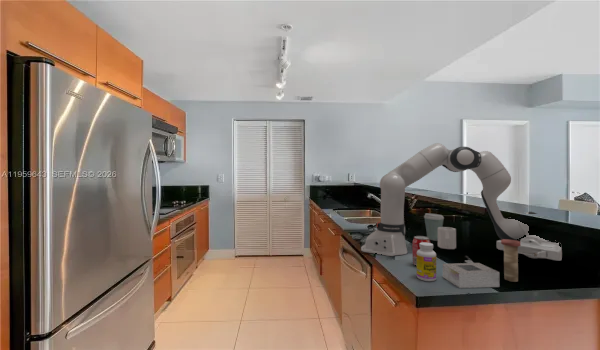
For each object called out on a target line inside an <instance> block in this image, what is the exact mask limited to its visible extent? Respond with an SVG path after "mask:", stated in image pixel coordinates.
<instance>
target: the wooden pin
mask: <svg viewBox="0 0 600 350" xmlns="http://www.w3.org/2000/svg"><path fill="white" fill-rule="evenodd" d="M500 240H501V244H503V245H504V250H503V274H504V275H503V276H504V277H503V279H504V280H505V281H509V282H514V283H516V282H519V263H518V262H519V259H518V258H519V253H518V246H521V242H520V240H510V239H500Z"/></svg>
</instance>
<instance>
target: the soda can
mask: <svg viewBox="0 0 600 350" xmlns="http://www.w3.org/2000/svg"><path fill="white" fill-rule="evenodd" d="M422 242H426V243H431V240H429V238H428V237H427V236H424V235H416V236H415V235H414V236H413V240H412V247H411V248H412V263H413V265H414V266H415V265H416V266H415V267H417V251H418V250H419V249H420V247H419V243H422Z"/></svg>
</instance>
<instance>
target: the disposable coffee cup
mask: <svg viewBox="0 0 600 350" xmlns="http://www.w3.org/2000/svg"><path fill="white" fill-rule="evenodd" d="M423 218H424V223H425V229H426V237H428V238H429V241H435V242H438V228H439V227H444V226H443V225H444V219H445V217H444V216H443V215H442V214H437V213H424V215H423Z"/></svg>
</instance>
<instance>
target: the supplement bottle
mask: <svg viewBox="0 0 600 350" xmlns="http://www.w3.org/2000/svg"><path fill="white" fill-rule="evenodd" d="M419 247H420V249H419V250H418V251H417V266H416V277H417V279H419V280H421V281H425V282H435V281H436V280H437V253H436V252H435V251H434V250H433V249H434V244H433V243H431V242H430V243H426V242H422V243H419Z"/></svg>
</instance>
